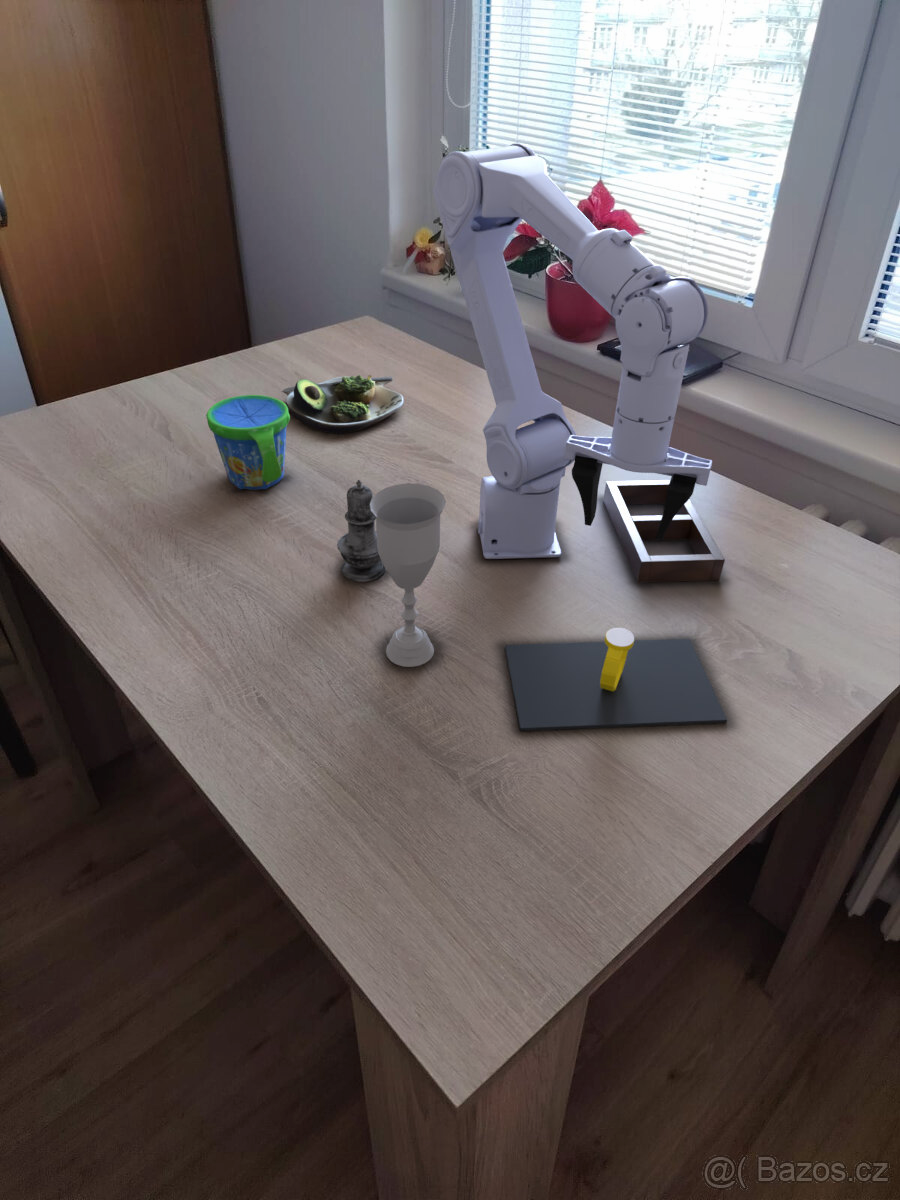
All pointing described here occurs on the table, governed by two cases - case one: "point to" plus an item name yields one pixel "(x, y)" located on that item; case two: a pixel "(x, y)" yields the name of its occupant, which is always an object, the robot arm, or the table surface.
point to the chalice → (408, 557)
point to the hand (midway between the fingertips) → (624, 528)
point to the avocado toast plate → (342, 403)
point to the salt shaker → (360, 538)
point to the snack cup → (251, 439)
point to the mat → (642, 697)
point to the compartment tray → (680, 528)
